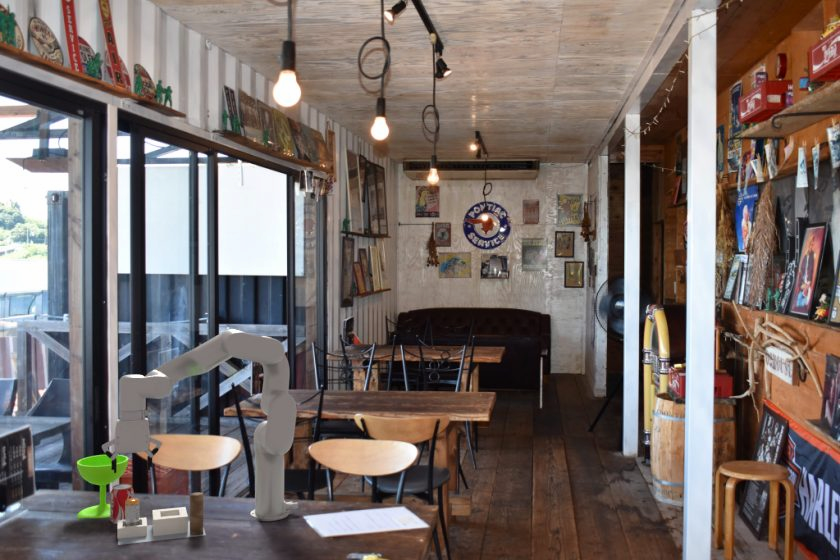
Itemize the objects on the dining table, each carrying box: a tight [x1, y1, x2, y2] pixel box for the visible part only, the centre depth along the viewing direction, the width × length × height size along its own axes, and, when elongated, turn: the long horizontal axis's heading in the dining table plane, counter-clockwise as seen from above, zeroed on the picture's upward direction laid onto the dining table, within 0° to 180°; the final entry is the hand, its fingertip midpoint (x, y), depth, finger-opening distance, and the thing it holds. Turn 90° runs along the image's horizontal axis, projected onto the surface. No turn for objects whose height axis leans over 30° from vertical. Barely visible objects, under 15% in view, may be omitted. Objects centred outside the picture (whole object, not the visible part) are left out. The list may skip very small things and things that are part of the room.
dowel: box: [189, 492, 205, 535], centre depth 237 cm, size 4×4×12 cm
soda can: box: [109, 483, 135, 525], centre depth 249 cm, size 7×7×12 cm
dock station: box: [117, 506, 207, 546], centre depth 238 cm, size 25×15×6 cm, turn 111°
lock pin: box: [125, 497, 140, 527], centre depth 237 cm, size 4×4×10 cm
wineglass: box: [76, 454, 130, 519], centre depth 258 cm, size 16×16×18 cm
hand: (132, 470), depth 237 cm, fingers open, 9 cm apart
